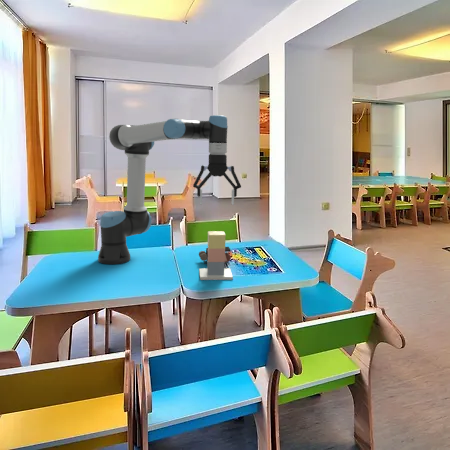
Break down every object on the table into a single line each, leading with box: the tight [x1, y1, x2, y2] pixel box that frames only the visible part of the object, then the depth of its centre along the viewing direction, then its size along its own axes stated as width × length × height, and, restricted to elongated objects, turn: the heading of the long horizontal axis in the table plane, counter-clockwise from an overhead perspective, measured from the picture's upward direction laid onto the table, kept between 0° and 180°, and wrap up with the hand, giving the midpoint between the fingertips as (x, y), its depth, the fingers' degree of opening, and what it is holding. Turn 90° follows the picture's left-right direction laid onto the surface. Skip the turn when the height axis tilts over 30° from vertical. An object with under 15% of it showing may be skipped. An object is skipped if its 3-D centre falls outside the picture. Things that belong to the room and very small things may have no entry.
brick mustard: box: [207, 230, 227, 249], centre depth 176 cm, size 7×7×6 cm
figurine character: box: [198, 246, 232, 265], centre depth 198 cm, size 7×8×15 cm
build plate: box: [198, 267, 234, 281], centre depth 179 cm, size 14×12×1 cm
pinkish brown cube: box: [207, 246, 225, 262], centre depth 177 cm, size 7×7×6 cm
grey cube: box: [206, 257, 225, 275], centre depth 179 cm, size 7×7×6 cm
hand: (216, 204), depth 173 cm, fingers open, 13 cm apart
